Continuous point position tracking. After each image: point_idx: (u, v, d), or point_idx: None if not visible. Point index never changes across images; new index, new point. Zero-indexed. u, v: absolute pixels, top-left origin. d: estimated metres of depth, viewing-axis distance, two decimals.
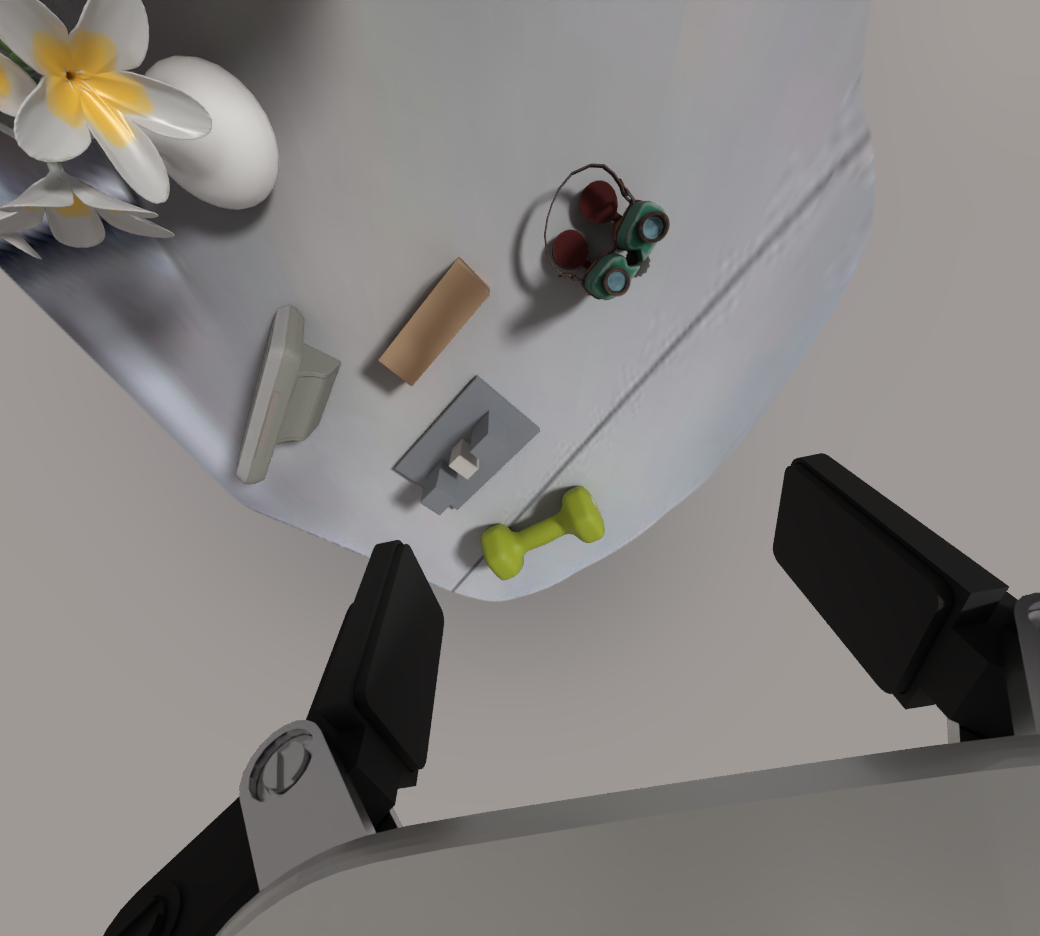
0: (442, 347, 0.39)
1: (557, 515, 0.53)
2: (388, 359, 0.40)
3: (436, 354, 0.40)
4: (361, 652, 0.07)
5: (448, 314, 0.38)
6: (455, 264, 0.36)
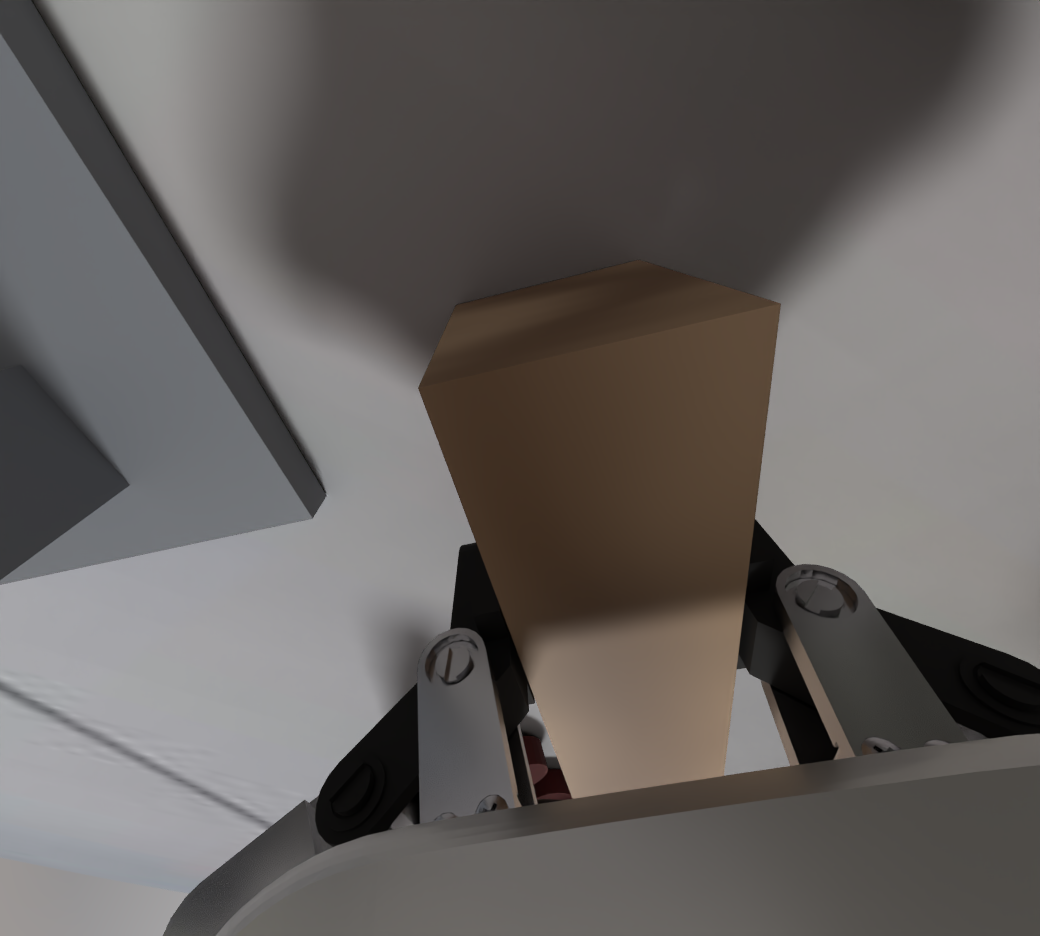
0: (528, 655, 0.07)
1: None
2: (713, 387, 0.05)
3: (517, 624, 0.07)
4: None
5: (624, 718, 0.09)
6: (717, 776, 0.11)
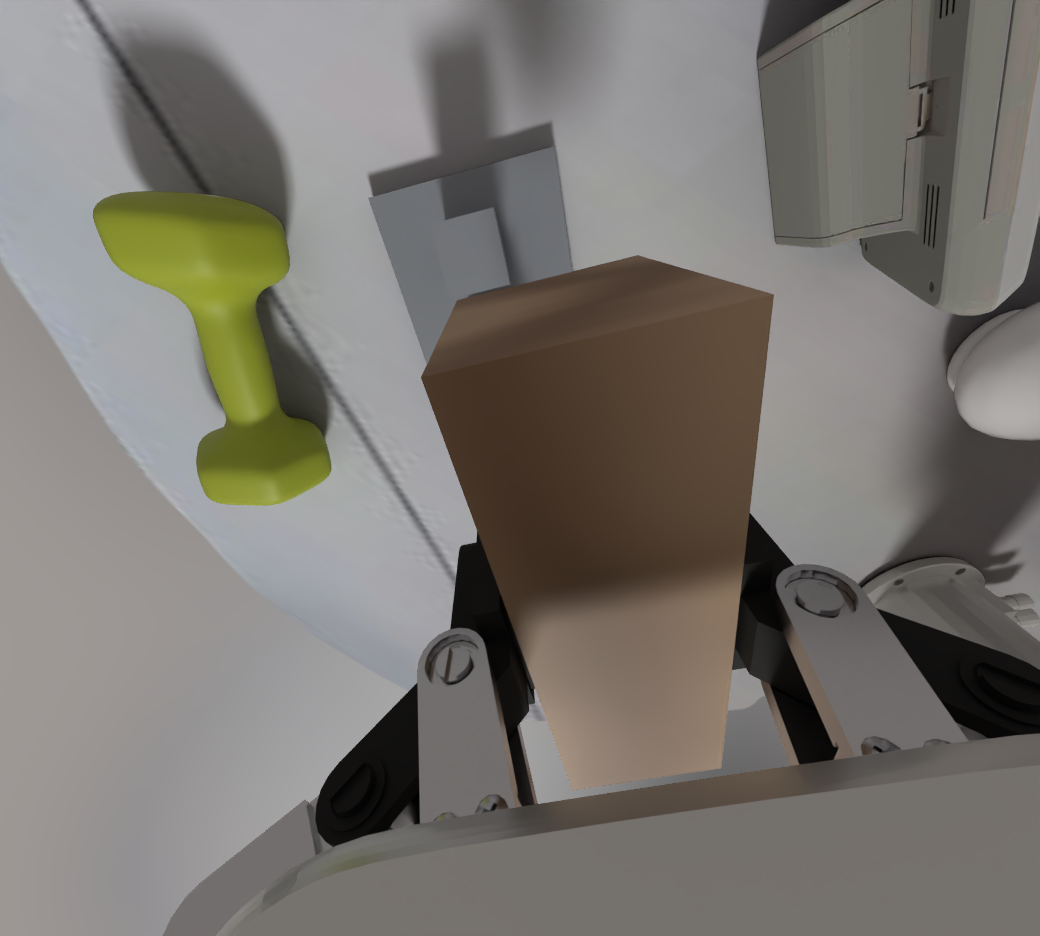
0: (528, 644, 0.07)
1: (280, 414, 0.25)
2: (709, 378, 0.05)
3: (518, 613, 0.07)
4: None
5: (623, 707, 0.09)
6: (715, 766, 0.11)
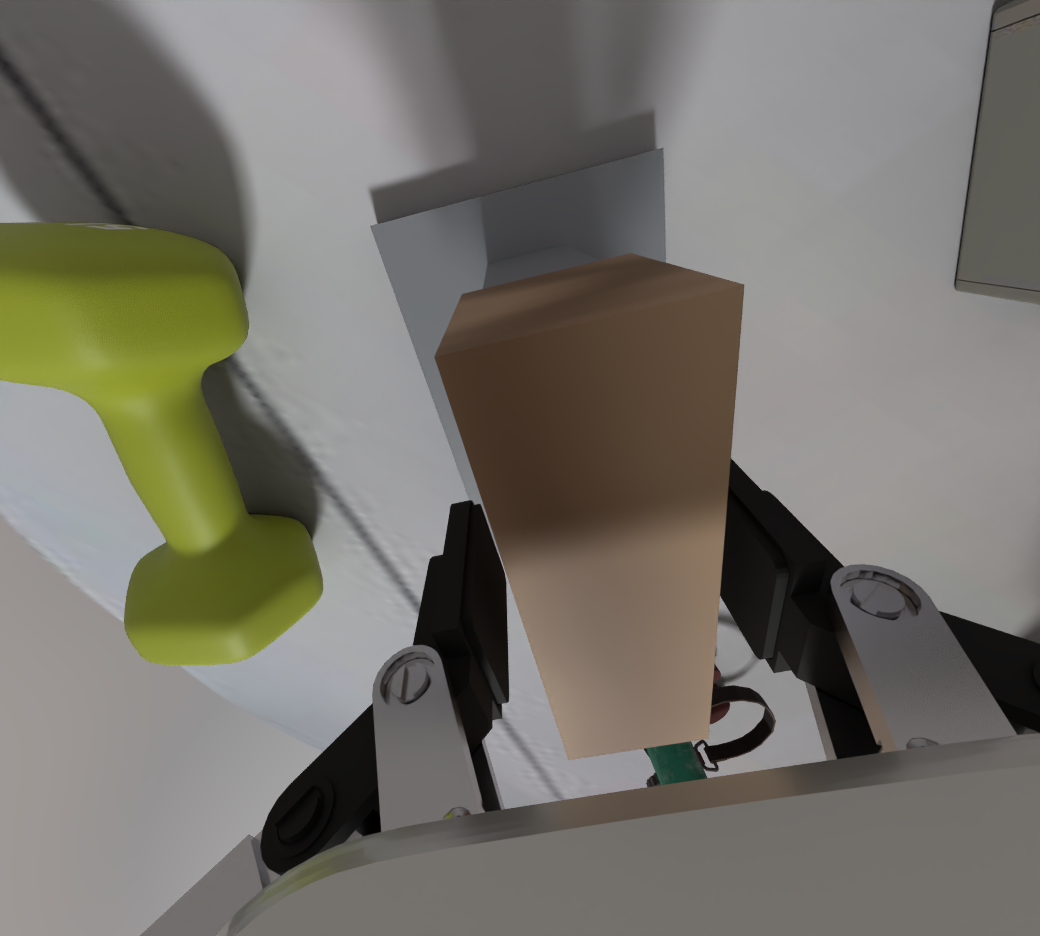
0: (527, 611, 0.08)
1: (247, 528, 0.18)
2: (689, 359, 0.05)
3: (518, 580, 0.08)
4: (462, 589, 0.08)
5: (616, 676, 0.09)
6: (703, 736, 0.11)
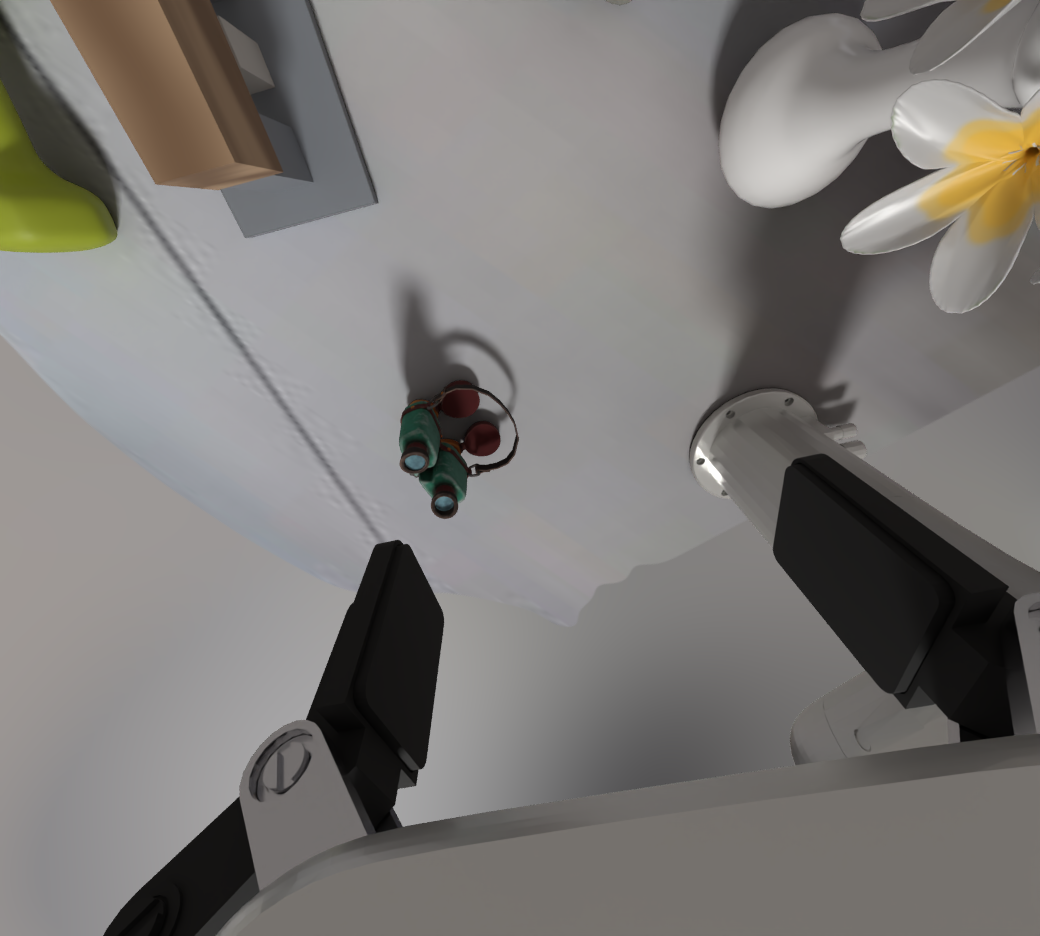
0: None
1: (32, 158, 0.25)
2: None
3: None
4: (361, 652, 0.07)
5: (128, 61, 0.17)
6: (230, 159, 0.19)
